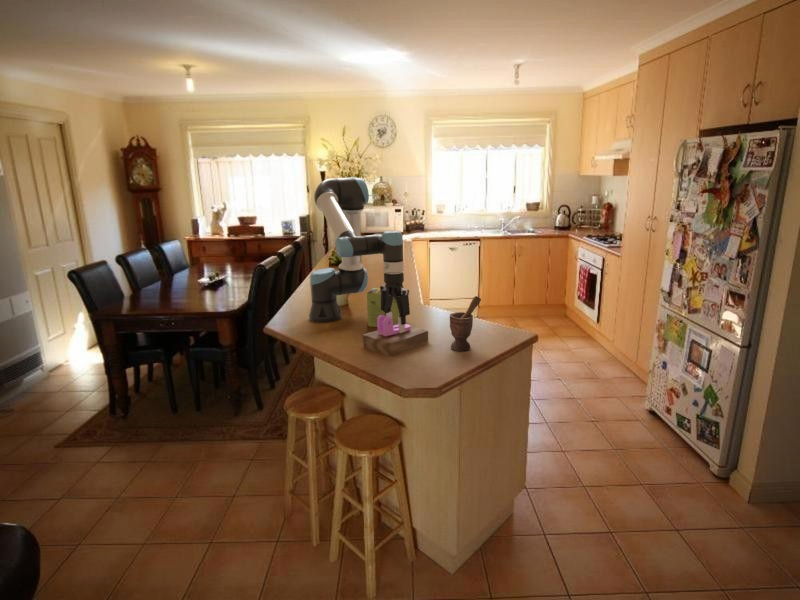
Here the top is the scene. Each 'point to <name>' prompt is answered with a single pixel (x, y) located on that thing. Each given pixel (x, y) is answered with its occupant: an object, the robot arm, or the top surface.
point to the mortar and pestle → (462, 326)
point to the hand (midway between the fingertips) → (395, 330)
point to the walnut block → (395, 341)
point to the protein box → (379, 307)
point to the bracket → (388, 326)
